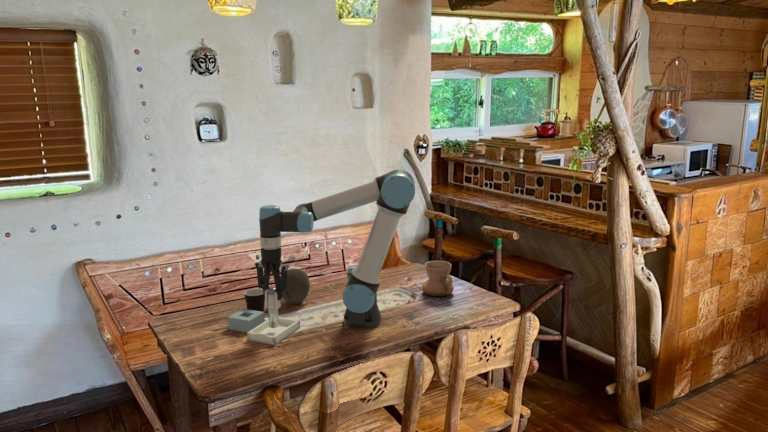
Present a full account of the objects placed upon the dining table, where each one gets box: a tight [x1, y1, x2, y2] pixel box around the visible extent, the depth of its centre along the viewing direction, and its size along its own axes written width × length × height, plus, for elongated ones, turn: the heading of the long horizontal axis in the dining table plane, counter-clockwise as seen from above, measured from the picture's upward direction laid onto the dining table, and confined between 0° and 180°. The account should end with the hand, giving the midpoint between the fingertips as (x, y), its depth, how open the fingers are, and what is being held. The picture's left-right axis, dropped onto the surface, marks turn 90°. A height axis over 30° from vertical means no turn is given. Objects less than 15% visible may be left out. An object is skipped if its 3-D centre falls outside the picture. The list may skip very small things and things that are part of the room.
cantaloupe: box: [280, 268, 311, 305], centre depth 259 cm, size 14×14×15 cm
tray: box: [246, 316, 301, 346], centre depth 226 cm, size 12×18×3 cm, turn 157°
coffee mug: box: [243, 288, 265, 313], centre depth 245 cm, size 12×9×10 cm
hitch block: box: [227, 308, 266, 333], centre depth 233 cm, size 10×10×5 cm
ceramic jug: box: [421, 260, 455, 297], centre depth 269 cm, size 18×14×14 cm
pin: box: [267, 286, 279, 328], centre depth 224 cm, size 4×4×15 cm
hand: (273, 307), depth 224 cm, fingers closed on pin, 4 cm apart
